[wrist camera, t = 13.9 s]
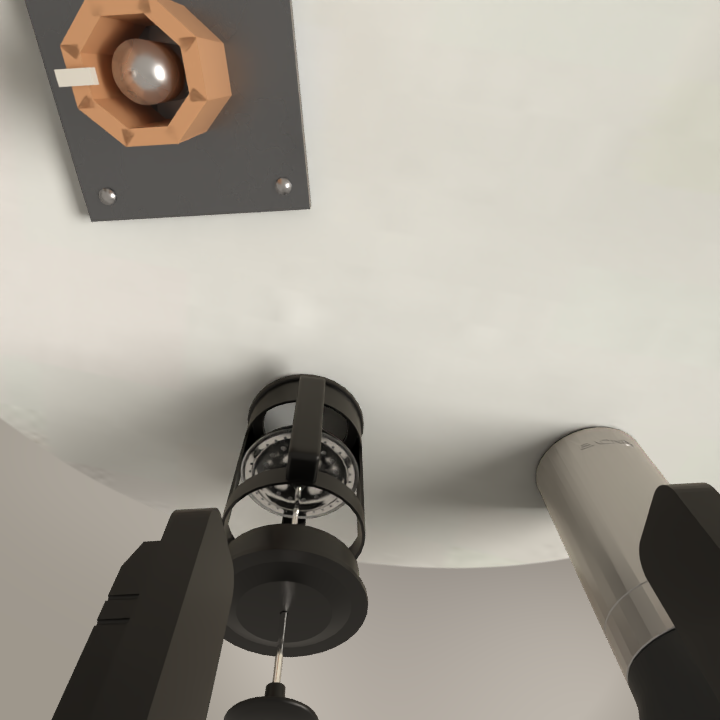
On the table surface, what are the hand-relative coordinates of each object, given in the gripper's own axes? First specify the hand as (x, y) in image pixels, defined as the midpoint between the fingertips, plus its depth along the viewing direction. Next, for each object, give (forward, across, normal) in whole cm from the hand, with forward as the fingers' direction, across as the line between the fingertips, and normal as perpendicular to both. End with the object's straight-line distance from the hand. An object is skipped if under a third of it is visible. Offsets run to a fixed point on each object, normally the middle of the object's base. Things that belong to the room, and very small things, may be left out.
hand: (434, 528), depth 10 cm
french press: (+28, +6, +17) cm, 34 cm away
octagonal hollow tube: (+27, +11, -8) cm, 30 cm away
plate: (+28, +11, -8) cm, 31 cm away
